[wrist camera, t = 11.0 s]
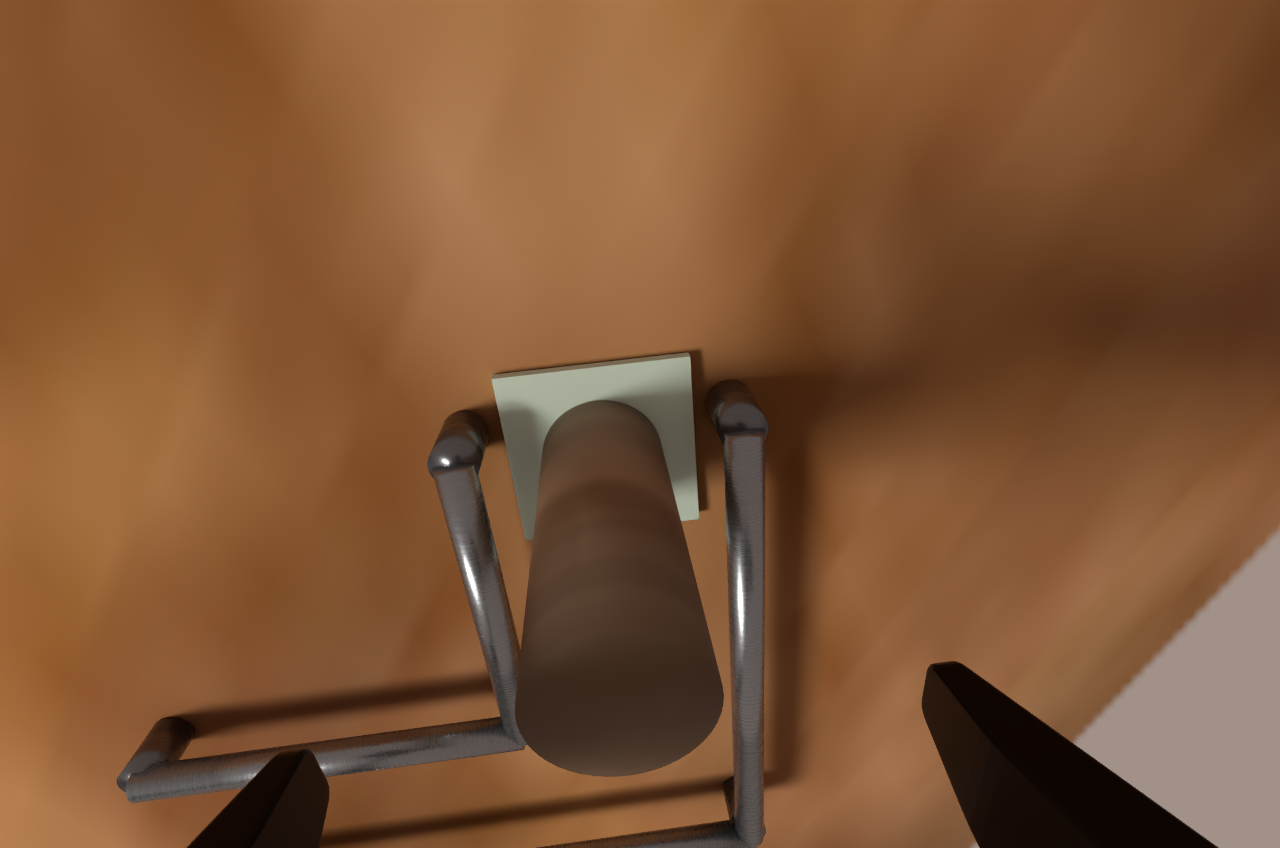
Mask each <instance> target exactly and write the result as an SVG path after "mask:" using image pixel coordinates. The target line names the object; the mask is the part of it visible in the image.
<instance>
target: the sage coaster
mask: <svg viewBox="0 0 1280 848" xmlns="http://www.w3.org/2000/svg"><path fill="white" fill-rule="evenodd" d="M492 384H493V388H494V393H495V398H496V402H497V407H498V412H499V417H500V421H501V426H502V431H503V435H504V440H505V445H506V449H507V454H508V459H509V464H510V468H511V473H512V478H513V482H514V487H515V492H516V497H517V501H518V506H519V511H520V515H521V520H522V525H523V529H524V534H525V539H526V540H533V534H534V525H535V515H536V506H537V497H538V488H539V479H540V469H541V460H542V451H543V444H544V440H545V437H546V435H547V433H548V431H549V429H550V427H551V426H552V425H553V423H554V422H555V421H556V420H557V419H558V418H559V417H560V416H561V415H562V414H563V413H565V412H566V411H568V410H569V409H571V408H573V407H575V406H577V405H580V404H583V403H586V402H591V401H597V400H609V401H616V402H621V403H624V404H627V405H629V406H632V407H634V408H635V409H637V410H639V411H640V412H642V413H643V414H644V415H645V416H646V417H647V418H648V419H649V420H650V421H651V422H652V424H653V425H654V426H655V428H656V430H657V432H658V434H659V437H660V440H661V444H662V448H663V452H664V456H665V460H666V464H667V468H668V472H669V476H670V480H671V484H672V488H673V492H674V496H675V500H676V504H677V508H678V512H679V516H680V520H681V521H687V520H695V519H699V509H698V490H697V472H696V453H695V435H694V417H693V398H692V380H691V362H690V355H689V353H688V352H687V353H678V354H670V355H661V356H652V357H643V358H634V359H626V360H617V361H608V362H599V363H591V364H582V365H573V366H564V367H556V368H547V369H538V370H529V371H520V372H512V373H503V374H494V375H493V376H492Z"/></svg>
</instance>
